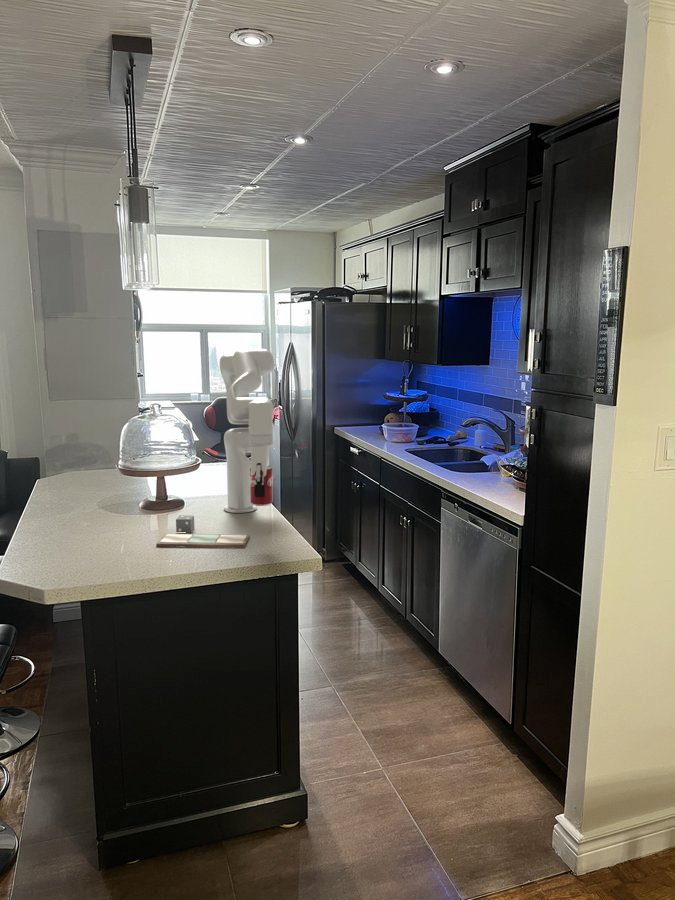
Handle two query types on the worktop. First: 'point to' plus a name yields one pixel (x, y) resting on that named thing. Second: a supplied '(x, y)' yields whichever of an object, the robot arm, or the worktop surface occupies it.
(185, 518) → the die
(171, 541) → the board
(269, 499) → the soda can
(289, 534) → the worktop surface
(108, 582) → the worktop surface
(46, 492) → the worktop surface
